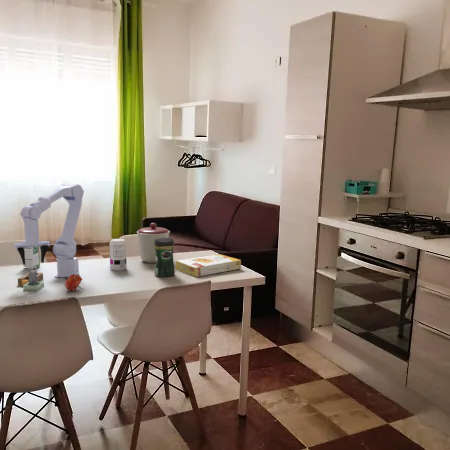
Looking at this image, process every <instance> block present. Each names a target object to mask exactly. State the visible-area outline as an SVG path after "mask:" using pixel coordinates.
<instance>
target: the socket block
mask: <svg viewBox="0 0 450 450" xmlns="http://www.w3.org/2000/svg"><path fill="white" fill-rule="evenodd" d="M28 279H29V272H26V273H25V274H24V275H22V276H20V277H18V278H17V286H22V280H28ZM43 280H44V272H37V282H42V281H43Z"/></svg>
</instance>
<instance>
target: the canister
mask: <svg viewBox="0 0 450 450" xmlns="http://www.w3.org/2000/svg"><path fill="white" fill-rule="evenodd" d="M170 232H171V231H170V230H168V229H167V228H166V227H165V228H164V227H159V226H157V223H156V222H151V223H150V224H149V227H142V228H140V229H138V230H137V231H136V233H137V238H138V247H139V253H140V255H139V256H140V259H141V260H142V261H143V262H145V263H149V264H151V263H153V264H155V259H156V251H155V248H154V243H155V239H156V238H170V237H169V236H170V235H169V234H171V233H170Z"/></svg>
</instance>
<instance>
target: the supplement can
mask: <svg viewBox="0 0 450 450" xmlns="http://www.w3.org/2000/svg"><path fill="white" fill-rule="evenodd" d="M127 261H128V260H127V241H126V240H125V239H124V238H113V239H110V242H109V268H110V269H111V271H124V270H126V269H127V265H128V264H127Z"/></svg>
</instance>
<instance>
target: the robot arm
mask: <svg viewBox="0 0 450 450" xmlns="http://www.w3.org/2000/svg"><path fill="white" fill-rule="evenodd" d="M84 193H85V191H84V189H83V187H82V185H80V184H71V183H70V184H69V183H62V184H61V185H58V186H57V189H55V190H54V191H53V192H51V193H50V194H48V195H47V196H40V197H38V199H36V200H35V201H34V202H31V203H30V204H29V205H24V206H23V207H22V208H21V211H20V213H19V214H20V216H21V218H22V221H23V225H24V227H23V228H24V240H25V243H22V242H19V243H13V244H14V245H13V246H14V247H13V248H14V250H17V252H18V253H19V256H20V259H21V262H22V265H23V266H24V265H25V250H24V249H23V248H29V247H39V251H40V263H42V264H43V263H44V261H45V257H46V254H47V251H48V249H49V247H50V246H51V242H50V241H49V240H45V241H44V240H43V241H42V240H41V241H40V231H39V219H40V218H41V215H42V214H43V213H44V212H46V211H47V210H48V209H50V208H51V207H52V203H55V202H56V201H58V200H60V199H61V198H63V199H64V200H65V201H66V202H67V203H68V204H69V205H68V210H67V212H66V217H65V221H64V225H63V229H62V232H61V235H60V237H58V238H57V239H56V241H55V243H54V245H53V247H52V253H53V254H54V255H55V258H56V267H57V268H56V270H57V274H55V275H54V278H64V277H69V276H70V275H73V274H76V275H79V274H80V272H79V258H78V257H75V255H76V254H77V253H76V252H77V245H78V243H77V242H76V240H75V239H74V237H75V233H76V230H77V229H76V228H77V226H78V225H77V224H78V221H79V218H80V213H81V210H82V205H83V196H84Z"/></svg>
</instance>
